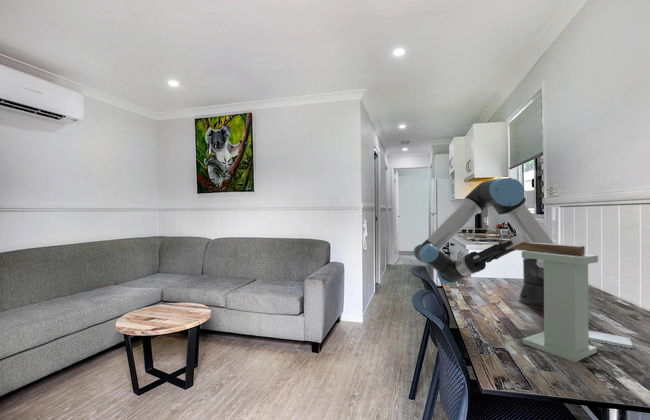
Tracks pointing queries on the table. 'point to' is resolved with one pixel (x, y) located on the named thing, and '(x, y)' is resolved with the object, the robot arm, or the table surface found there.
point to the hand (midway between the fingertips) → (524, 237)
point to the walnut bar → (550, 248)
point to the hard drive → (610, 339)
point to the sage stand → (564, 305)
